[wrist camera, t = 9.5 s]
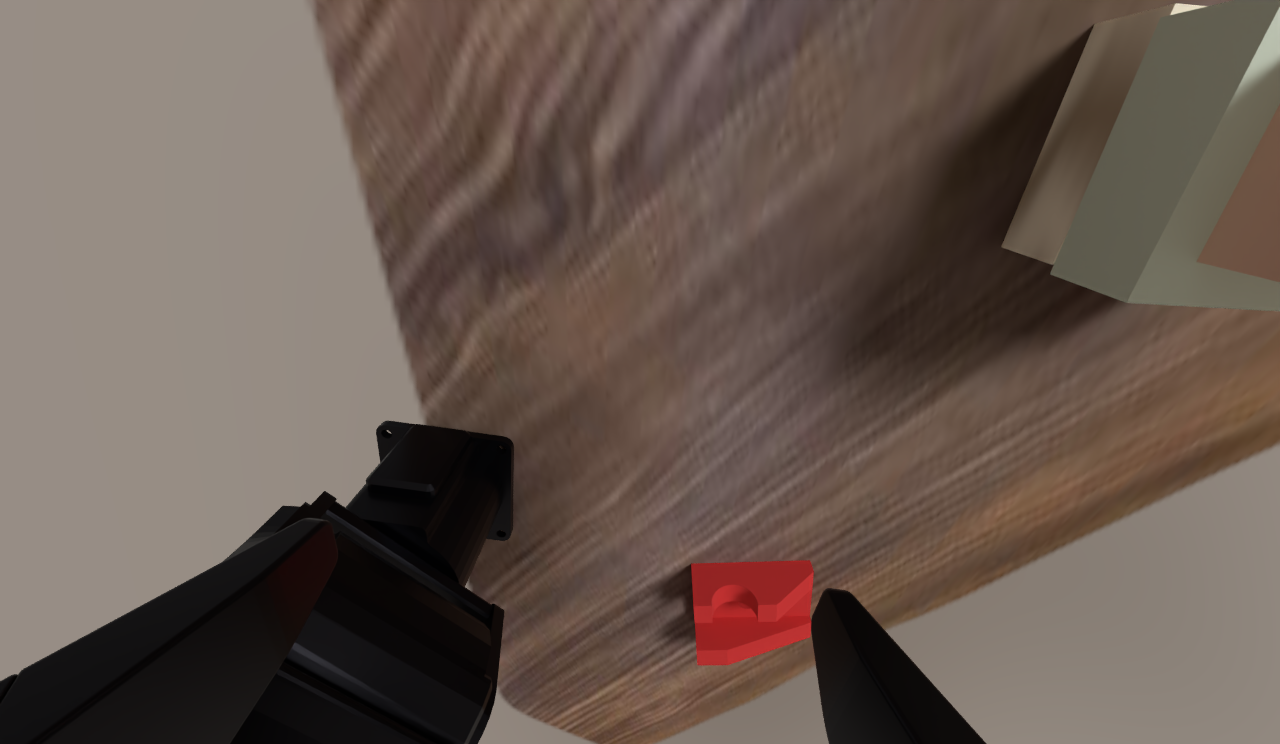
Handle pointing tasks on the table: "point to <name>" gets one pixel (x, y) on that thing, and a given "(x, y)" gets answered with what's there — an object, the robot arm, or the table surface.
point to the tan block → (1252, 215)
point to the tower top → (1180, 163)
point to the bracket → (749, 608)
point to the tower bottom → (1081, 132)
